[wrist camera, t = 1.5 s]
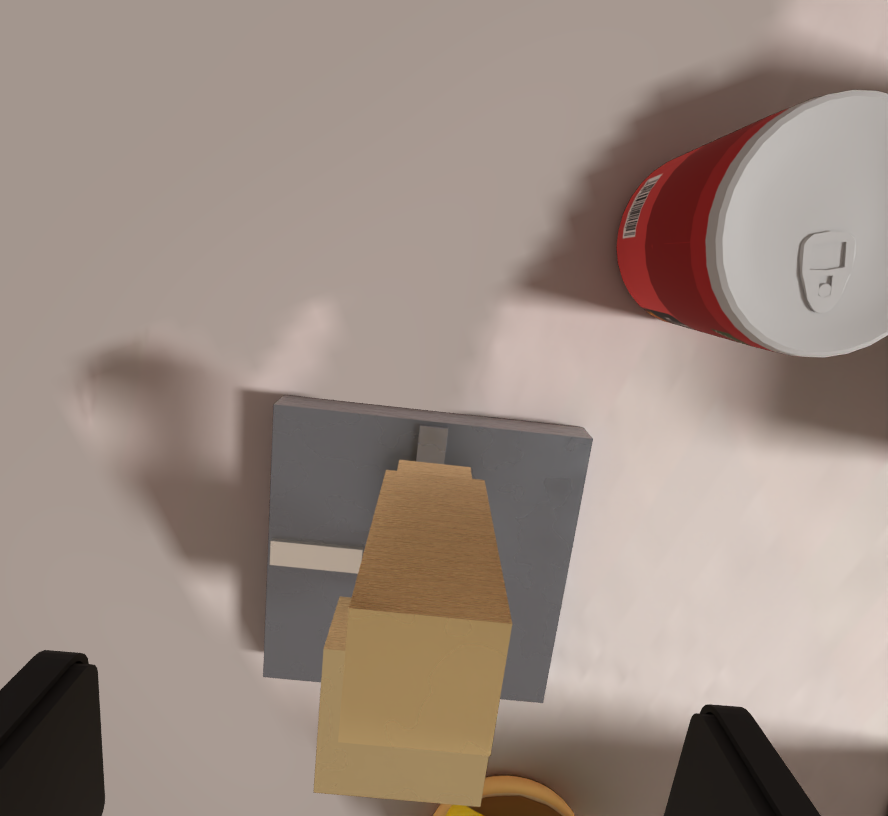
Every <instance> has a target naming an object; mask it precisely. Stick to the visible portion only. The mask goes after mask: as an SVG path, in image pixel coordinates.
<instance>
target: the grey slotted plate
mask: <svg viewBox="0 0 888 816" xmlns="http://www.w3.org/2000/svg"><path fill="white" fill-rule="evenodd" d="M592 441H593V438H592V437H591V436H590V435H589V434H588V432H587V431H586V430H585V429H584V428H583V427H574V426H565V425H556V424H547V423H538V422H528V421H519V420H510V419H501V418H492V417H483V416H473V415H464V414H455V413H446V412H437V411H428V410H418V409H409V408H400V407H391V406H382V405H372V404H363V403H354V402H345V401H336V400H327V399H318V398H308V397H299V396H290V395H284V396H283V397H282V398H280V399H279V400H278V401H277V402H276V403H275V404H274V408H273V434H272V460H271V486H270V512H269V538H268V564H267V590H266V616H265V642H264V668H263V677H270V678H280V679H291V680H302V681H313V682H321V678H322V664H323V649H324V646H325V642H326V639H327V636H328V633H329V629H330V626H331V623H332V620H333V616H334V613H335V610H336V606H337V603H338V600H339V597H350V598H352V594H353V591H354V587H355V583H356V580H357V576H358V572H359V568H360V565H361V561H362V557H363V553H364V550H365V546H366V542H367V539H368V535H369V531H370V527H371V524H372V520H373V516H374V513H375V509H376V505H377V501H378V498H379V494H380V490H381V487H382V483H383V479H384V475H385V472H386V470H394V471H397V468H398V464H399V460H407V461H417V462H426V463H435V464H445V465H454V466H464V467H471V474H472V479H479V480H485V485H486V490H487V495H488V501H489V506H490V511H491V516H492V521H493V526H494V532H495V537H496V542H497V547H498V552H499V558H500V563H501V568H502V573H503V578H504V583H505V589H506V594H507V599H508V604H509V609H510V615H511V620H512V629H511V635H510V641H509V647H508V653H507V659H506V665H505V671H504V677H503V683H502V689H501V695H500V699H506V700H516V701H527V702H538V703H543V700H544V694H545V689H546V684H547V679H548V673H549V668H550V663H551V657H552V652H553V647H554V642H555V636H556V631H557V626H558V621H559V615H560V610H561V605H562V599H563V594H564V589H565V584H566V578H567V573H568V568H569V562H570V557H571V552H572V547H573V541H574V536H575V531H576V525H577V520H578V515H579V510H580V504H581V499H582V494H583V488H584V483H585V478H586V473H587V467H588V462H589V457H590V452H591V446H592Z"/></svg>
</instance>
